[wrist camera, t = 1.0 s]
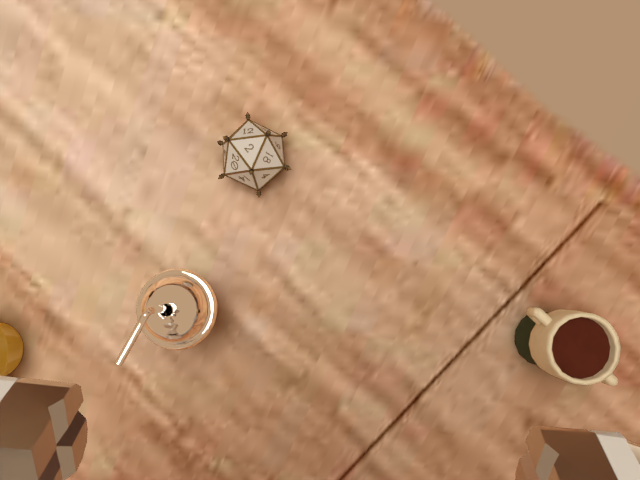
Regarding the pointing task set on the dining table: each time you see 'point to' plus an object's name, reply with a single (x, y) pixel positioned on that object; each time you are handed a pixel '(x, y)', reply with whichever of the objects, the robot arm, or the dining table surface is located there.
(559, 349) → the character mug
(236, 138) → the game die
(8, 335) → the plant pot
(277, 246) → the dining table surface
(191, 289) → the cup with straw
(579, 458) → the robot arm
